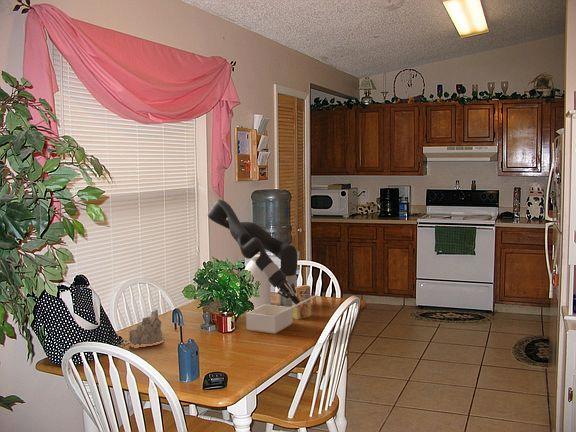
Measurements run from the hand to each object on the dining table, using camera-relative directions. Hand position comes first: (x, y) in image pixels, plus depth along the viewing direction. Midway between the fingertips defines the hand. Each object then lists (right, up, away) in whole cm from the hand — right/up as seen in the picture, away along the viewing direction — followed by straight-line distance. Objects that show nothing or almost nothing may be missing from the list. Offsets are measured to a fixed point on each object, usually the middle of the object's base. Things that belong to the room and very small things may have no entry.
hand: (298, 303), depth 263 cm
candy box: (+2, -11, +24) cm, 26 cm away
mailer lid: (-7, -5, +5) cm, 9 cm away
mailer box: (-13, -12, +9) cm, 20 cm away
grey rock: (-67, -16, -8) cm, 69 cm away
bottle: (-20, -9, +44) cm, 49 cm away
